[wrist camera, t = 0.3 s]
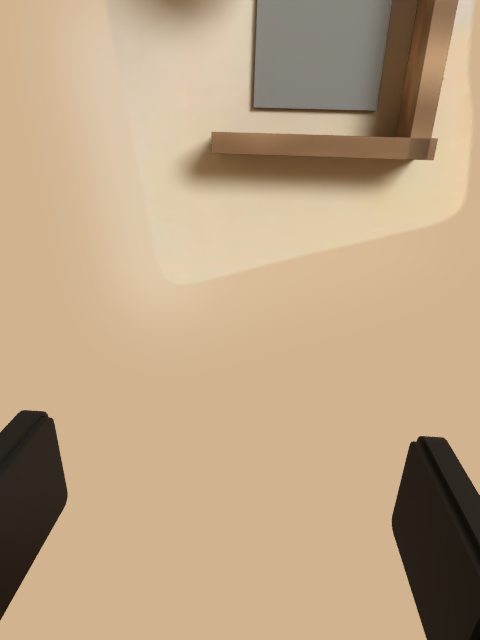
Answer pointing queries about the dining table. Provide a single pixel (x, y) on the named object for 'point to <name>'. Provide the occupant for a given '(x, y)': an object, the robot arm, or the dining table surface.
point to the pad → (320, 53)
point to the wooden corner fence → (414, 113)
